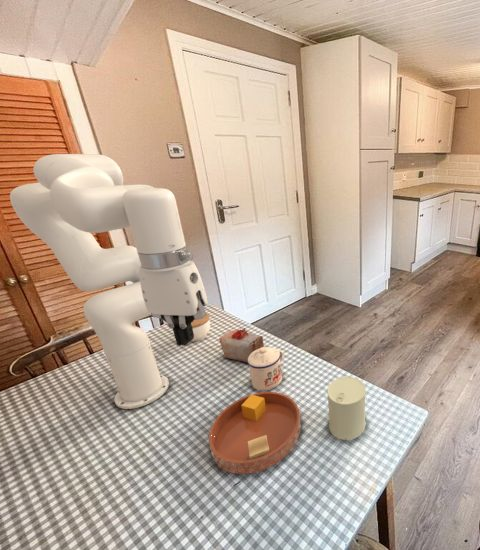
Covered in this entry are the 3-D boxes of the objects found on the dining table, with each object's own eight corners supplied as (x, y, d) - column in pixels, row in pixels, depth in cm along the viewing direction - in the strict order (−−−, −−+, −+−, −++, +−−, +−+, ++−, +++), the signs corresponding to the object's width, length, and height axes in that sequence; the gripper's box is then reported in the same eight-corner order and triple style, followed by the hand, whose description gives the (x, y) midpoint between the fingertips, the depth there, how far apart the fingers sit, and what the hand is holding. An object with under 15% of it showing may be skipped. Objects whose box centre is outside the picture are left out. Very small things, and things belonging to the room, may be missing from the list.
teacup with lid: (268, 396, 85) (264, 362, 81) (244, 386, 89) (238, 353, 84) (295, 370, 95) (292, 339, 91) (272, 362, 99) (268, 332, 94)
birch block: (249, 454, 68) (247, 441, 66) (268, 447, 69) (266, 434, 68) (251, 469, 65) (249, 456, 63) (271, 462, 66) (269, 449, 65)
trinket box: (192, 328, 118) (187, 307, 114) (218, 330, 117) (214, 308, 113) (173, 344, 108) (167, 321, 104) (201, 346, 107) (196, 323, 103)
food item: (219, 359, 100) (213, 334, 96) (235, 346, 107) (231, 321, 104) (254, 367, 96) (250, 341, 93) (268, 353, 104) (265, 328, 100)
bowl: (201, 431, 74) (198, 419, 73) (278, 392, 86) (276, 381, 85) (229, 496, 60) (226, 483, 59) (316, 438, 72) (315, 426, 71)
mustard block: (253, 405, 81) (251, 394, 79) (266, 409, 80) (264, 397, 78) (243, 417, 77) (241, 405, 76) (256, 421, 76) (254, 409, 75)
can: (322, 434, 73) (319, 396, 69) (339, 407, 81) (337, 371, 77) (356, 447, 70) (356, 407, 66) (371, 417, 78) (371, 380, 74)
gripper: (214, 252, 59) (229, 333, 66) (141, 250, 60) (164, 330, 67) (191, 265, 52) (210, 354, 59) (109, 263, 53) (137, 351, 60)
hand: (185, 341), depth 63 cm, fingers closed
